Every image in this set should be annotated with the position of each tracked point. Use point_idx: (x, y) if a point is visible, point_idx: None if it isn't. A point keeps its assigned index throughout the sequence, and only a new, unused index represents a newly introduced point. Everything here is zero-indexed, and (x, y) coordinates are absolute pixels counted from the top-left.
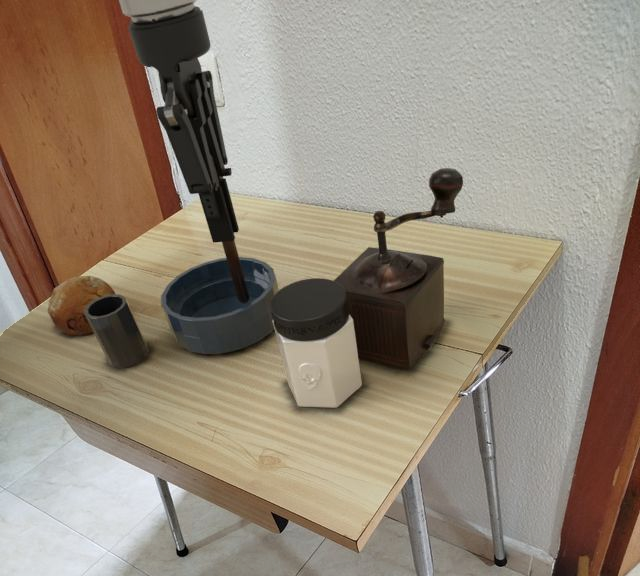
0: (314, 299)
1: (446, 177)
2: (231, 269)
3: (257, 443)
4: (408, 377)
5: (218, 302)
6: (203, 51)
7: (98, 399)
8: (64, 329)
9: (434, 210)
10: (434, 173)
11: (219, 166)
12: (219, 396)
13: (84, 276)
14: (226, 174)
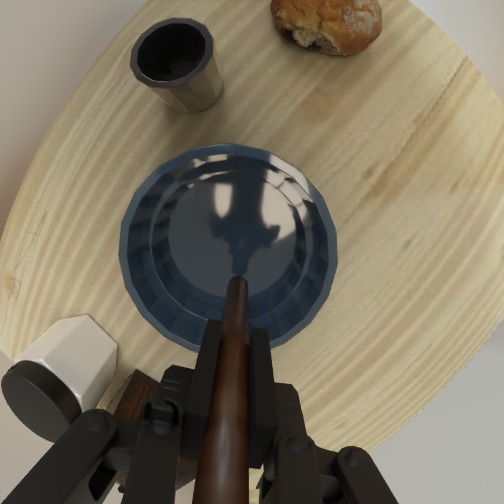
0: (33, 416)
1: None
2: (225, 305)
3: (24, 276)
4: (100, 406)
5: (288, 225)
6: None
7: (109, 71)
8: None
9: None
10: None
11: (260, 495)
12: (77, 234)
13: (364, 3)
14: (259, 480)
